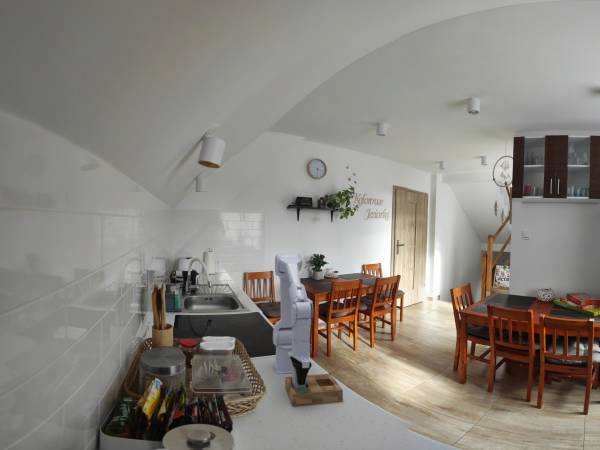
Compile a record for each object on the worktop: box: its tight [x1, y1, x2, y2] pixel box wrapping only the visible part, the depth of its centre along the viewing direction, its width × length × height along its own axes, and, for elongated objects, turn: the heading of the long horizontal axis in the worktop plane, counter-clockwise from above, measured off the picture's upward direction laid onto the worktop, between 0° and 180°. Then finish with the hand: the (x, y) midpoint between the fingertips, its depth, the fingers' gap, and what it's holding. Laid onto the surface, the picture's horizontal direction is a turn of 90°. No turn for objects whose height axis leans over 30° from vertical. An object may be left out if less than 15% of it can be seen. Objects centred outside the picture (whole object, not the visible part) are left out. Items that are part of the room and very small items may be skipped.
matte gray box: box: [291, 366, 306, 389], centre depth 104 cm, size 4×4×7 cm
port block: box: [284, 373, 344, 407], centre depth 105 cm, size 12×16×4 cm
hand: (299, 381), depth 104 cm, fingers closed on matte gray box, 4 cm apart
